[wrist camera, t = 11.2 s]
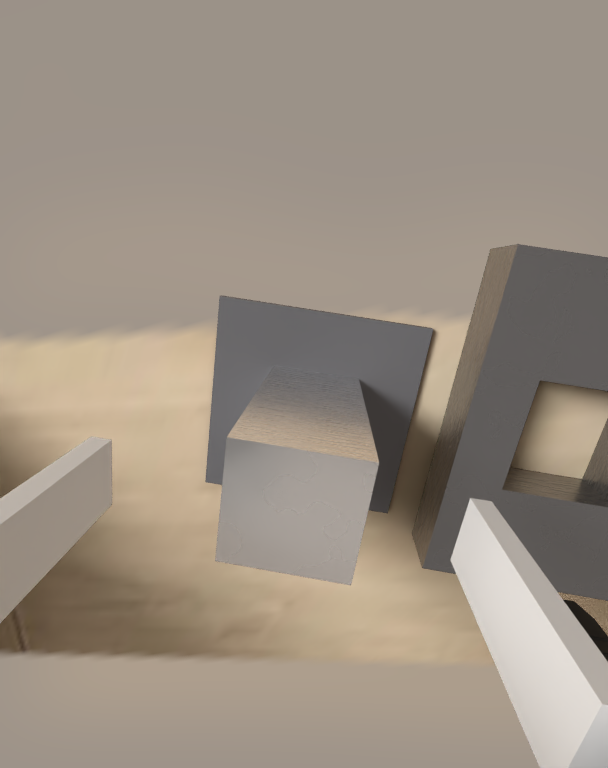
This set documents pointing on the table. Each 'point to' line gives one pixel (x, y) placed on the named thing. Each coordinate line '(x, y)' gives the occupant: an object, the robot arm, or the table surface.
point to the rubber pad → (323, 355)
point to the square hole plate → (525, 417)
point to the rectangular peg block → (298, 477)
